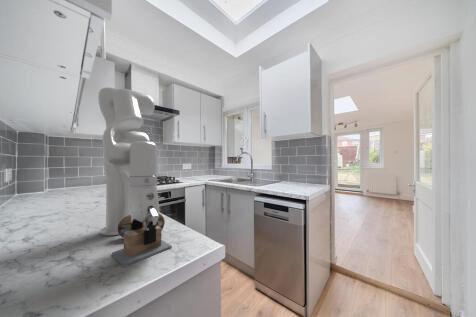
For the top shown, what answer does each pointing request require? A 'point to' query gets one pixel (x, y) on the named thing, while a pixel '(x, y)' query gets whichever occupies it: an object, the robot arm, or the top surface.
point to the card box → (139, 242)
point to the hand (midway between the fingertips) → (142, 238)
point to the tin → (126, 224)
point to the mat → (126, 261)
